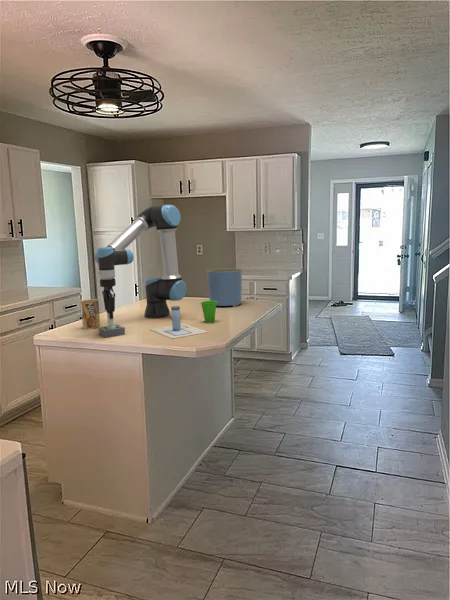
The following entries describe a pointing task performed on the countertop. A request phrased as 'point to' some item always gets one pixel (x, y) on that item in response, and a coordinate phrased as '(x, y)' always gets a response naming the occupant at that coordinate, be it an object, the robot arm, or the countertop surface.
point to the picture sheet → (183, 331)
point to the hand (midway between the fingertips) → (111, 324)
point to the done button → (111, 326)
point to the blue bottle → (176, 318)
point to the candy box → (90, 313)
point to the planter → (225, 286)
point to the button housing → (111, 331)
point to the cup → (209, 310)
